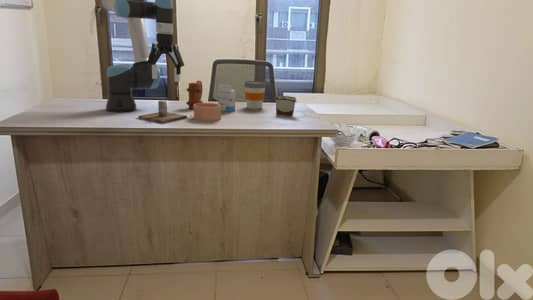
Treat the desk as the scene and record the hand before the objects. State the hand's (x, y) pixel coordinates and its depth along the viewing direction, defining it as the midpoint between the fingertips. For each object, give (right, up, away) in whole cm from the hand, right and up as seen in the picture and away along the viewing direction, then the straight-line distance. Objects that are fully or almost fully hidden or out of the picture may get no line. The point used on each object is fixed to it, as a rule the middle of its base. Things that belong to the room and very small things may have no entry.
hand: (165, 80), depth 182 cm
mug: (+8, -9, +37) cm, 39 cm away
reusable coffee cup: (+40, -8, +46) cm, 62 cm away
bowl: (+18, -18, +9) cm, 27 cm away
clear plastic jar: (+25, -11, +34) cm, 43 cm away
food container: (+58, -14, +29) cm, 67 cm away
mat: (-3, -18, +5) cm, 19 cm away
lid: (-2, -18, +4) cm, 18 cm away
